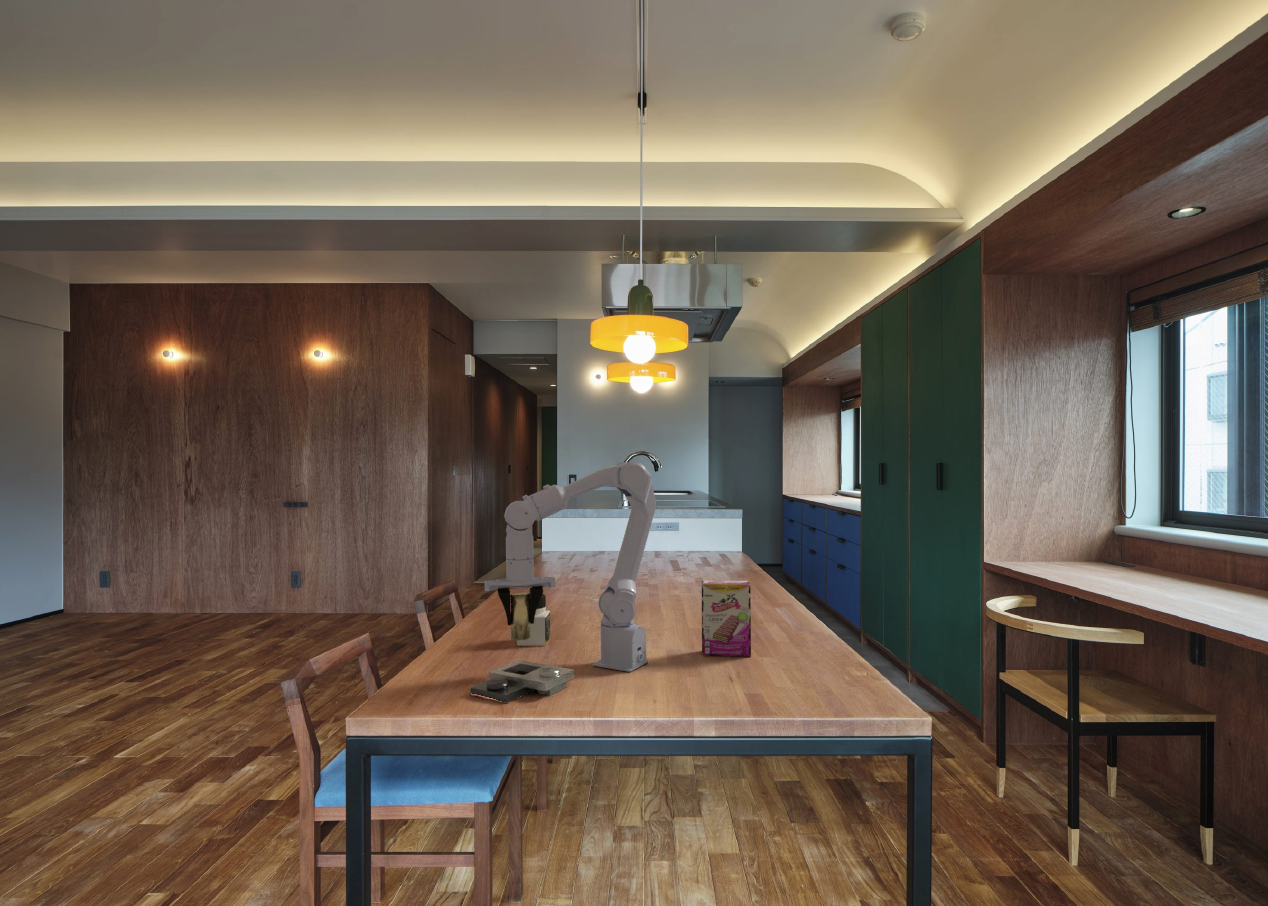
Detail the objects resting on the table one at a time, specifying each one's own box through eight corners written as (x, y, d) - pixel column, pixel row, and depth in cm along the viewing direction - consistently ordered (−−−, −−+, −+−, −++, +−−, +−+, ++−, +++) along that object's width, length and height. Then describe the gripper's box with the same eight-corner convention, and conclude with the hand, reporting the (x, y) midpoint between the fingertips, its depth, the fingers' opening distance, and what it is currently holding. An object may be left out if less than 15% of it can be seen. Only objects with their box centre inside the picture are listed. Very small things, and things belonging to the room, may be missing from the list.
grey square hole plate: (489, 687, 126) (488, 668, 126) (519, 674, 134) (519, 656, 134) (545, 699, 119) (545, 678, 119) (574, 684, 126) (573, 665, 127)
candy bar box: (702, 656, 144) (700, 583, 145) (701, 650, 149) (700, 579, 150) (752, 657, 143) (750, 583, 143) (750, 651, 148) (749, 579, 148)
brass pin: (534, 636, 135) (533, 593, 135) (521, 641, 132) (521, 596, 132) (519, 634, 137) (519, 592, 137) (507, 638, 134) (506, 595, 134)
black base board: (519, 674, 134) (519, 663, 134) (553, 681, 129) (553, 669, 129) (470, 695, 121) (470, 683, 122) (506, 703, 117) (506, 690, 117)
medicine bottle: (546, 646, 155) (545, 596, 155) (516, 646, 155) (516, 596, 156) (550, 638, 162) (549, 590, 163) (522, 638, 162) (521, 591, 163)
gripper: (552, 554, 140) (553, 616, 140) (484, 557, 137) (484, 621, 137) (556, 558, 134) (557, 624, 133) (484, 562, 130) (485, 629, 130)
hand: (520, 623), depth 134 cm, fingers closed on brass pin, 4 cm apart
